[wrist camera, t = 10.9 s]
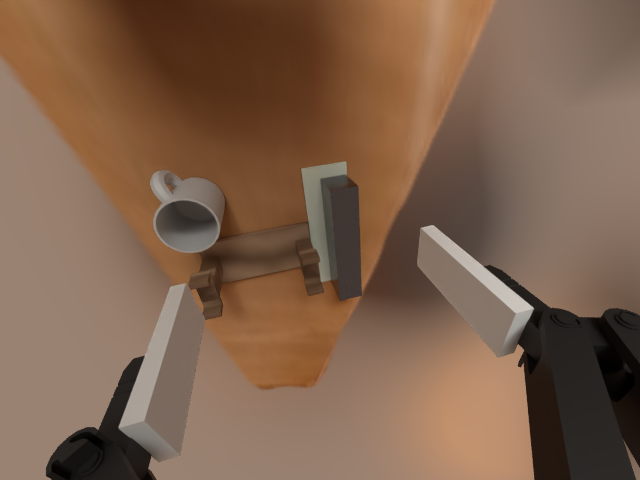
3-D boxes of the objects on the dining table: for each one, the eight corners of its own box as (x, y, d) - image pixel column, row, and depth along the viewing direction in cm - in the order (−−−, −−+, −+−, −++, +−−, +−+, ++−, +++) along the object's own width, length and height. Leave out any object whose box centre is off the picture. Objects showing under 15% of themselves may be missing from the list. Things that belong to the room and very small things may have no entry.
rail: (330, 279, 51) (339, 300, 46) (320, 178, 41) (330, 191, 36) (350, 275, 52) (361, 295, 47) (345, 174, 42) (358, 186, 37)
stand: (198, 242, 42) (185, 280, 34) (306, 222, 45) (319, 252, 37) (213, 282, 46) (205, 324, 38) (312, 261, 49) (325, 296, 41)
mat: (300, 168, 40) (301, 169, 40) (345, 161, 41) (346, 161, 41) (316, 282, 51) (316, 283, 51) (351, 274, 52) (351, 275, 52)
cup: (197, 231, 41) (186, 263, 34) (144, 178, 36) (115, 201, 29) (236, 205, 41) (232, 232, 33) (186, 148, 36) (169, 164, 28)
